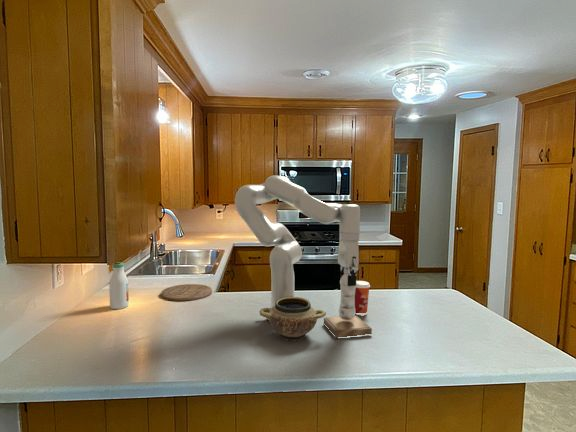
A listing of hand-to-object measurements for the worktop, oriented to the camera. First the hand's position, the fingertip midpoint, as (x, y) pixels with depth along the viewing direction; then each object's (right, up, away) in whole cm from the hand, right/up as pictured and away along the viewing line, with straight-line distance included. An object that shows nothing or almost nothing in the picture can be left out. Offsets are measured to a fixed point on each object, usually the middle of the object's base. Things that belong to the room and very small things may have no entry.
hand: (348, 282), depth 139 cm
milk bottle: (-99, -16, +25) cm, 104 cm away
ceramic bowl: (-21, -19, -4) cm, 29 cm away
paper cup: (+9, -18, +20) cm, 28 cm away
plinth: (0, -19, +2) cm, 19 cm away
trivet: (-75, -15, +46) cm, 89 cm away
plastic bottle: (0, -14, +1) cm, 14 cm away
